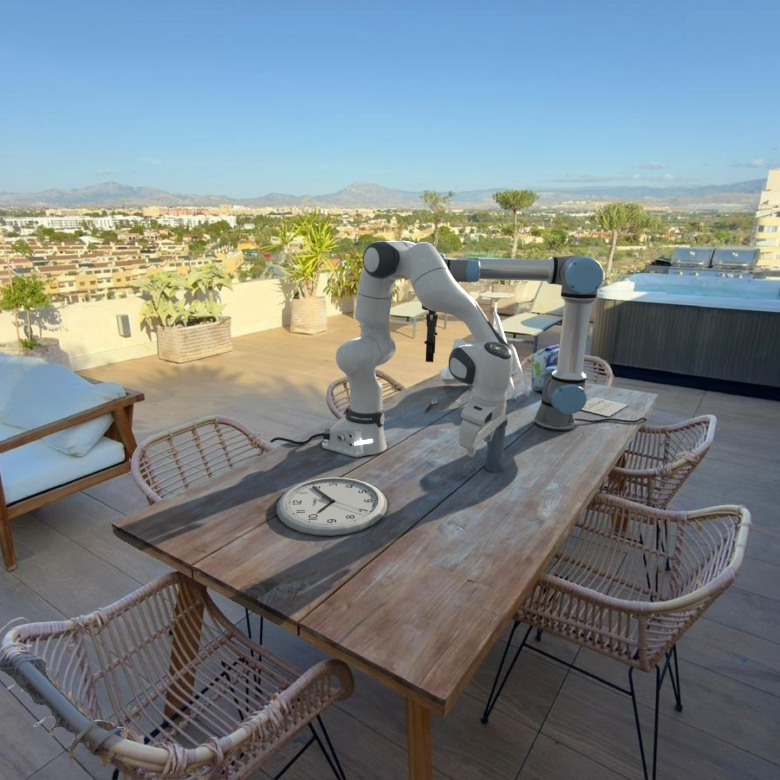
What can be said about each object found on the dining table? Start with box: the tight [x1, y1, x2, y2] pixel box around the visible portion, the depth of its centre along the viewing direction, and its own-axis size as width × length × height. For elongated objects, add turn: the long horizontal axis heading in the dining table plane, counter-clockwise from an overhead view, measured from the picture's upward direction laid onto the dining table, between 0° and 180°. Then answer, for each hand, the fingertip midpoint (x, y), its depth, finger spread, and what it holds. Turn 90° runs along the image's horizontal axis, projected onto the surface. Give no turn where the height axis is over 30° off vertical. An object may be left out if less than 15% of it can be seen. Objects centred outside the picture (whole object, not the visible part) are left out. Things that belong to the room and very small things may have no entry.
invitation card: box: [580, 396, 629, 418], centre depth 226 cm, size 21×1×15 cm
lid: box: [498, 416, 509, 427], centre depth 162 cm, size 6×6×2 cm
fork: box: [425, 396, 439, 412], centre depth 222 cm, size 3×16×2 cm, turn 160°
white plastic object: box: [438, 310, 531, 400], centre depth 245 cm, size 37×45×31 cm
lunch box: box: [530, 344, 560, 393], centre depth 247 cm, size 26×11×21 cm, turn 134°
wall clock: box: [276, 476, 388, 537], centre depth 142 cm, size 30×2×30 cm
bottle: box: [484, 426, 507, 473], centre depth 164 cm, size 5×5×17 cm
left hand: (479, 448), depth 142 cm, fingers open, 8 cm apart
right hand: (430, 357), depth 190 cm, fingers open, 13 cm apart
